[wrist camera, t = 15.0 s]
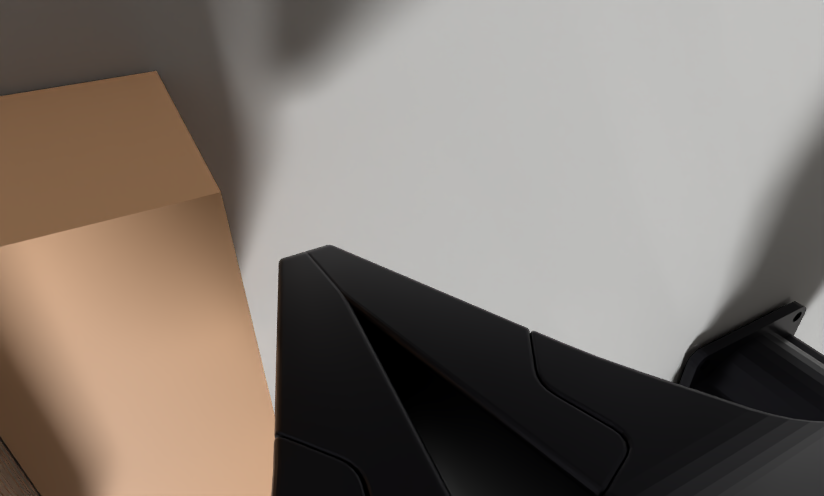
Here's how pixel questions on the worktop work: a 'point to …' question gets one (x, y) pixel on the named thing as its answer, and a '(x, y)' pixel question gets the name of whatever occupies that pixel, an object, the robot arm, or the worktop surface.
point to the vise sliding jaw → (123, 303)
